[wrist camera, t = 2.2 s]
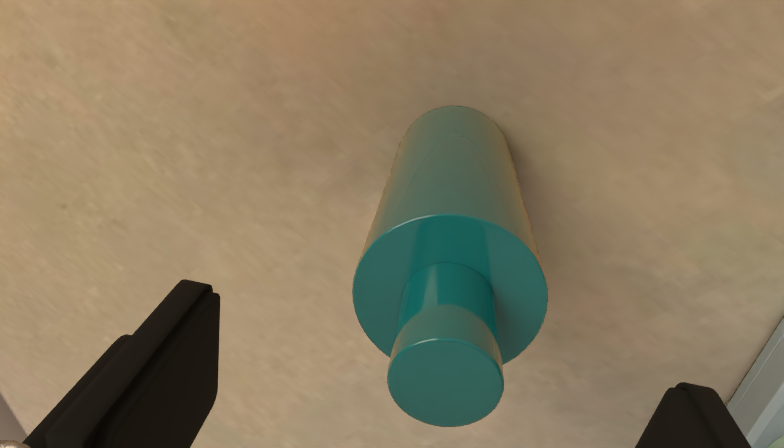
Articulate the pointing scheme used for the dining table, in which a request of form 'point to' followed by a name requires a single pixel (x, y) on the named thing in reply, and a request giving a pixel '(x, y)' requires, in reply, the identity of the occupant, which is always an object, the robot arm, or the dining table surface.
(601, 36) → the dining table surface
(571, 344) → the dining table surface
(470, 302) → the loose bottle
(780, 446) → the bottle
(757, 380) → the tray
